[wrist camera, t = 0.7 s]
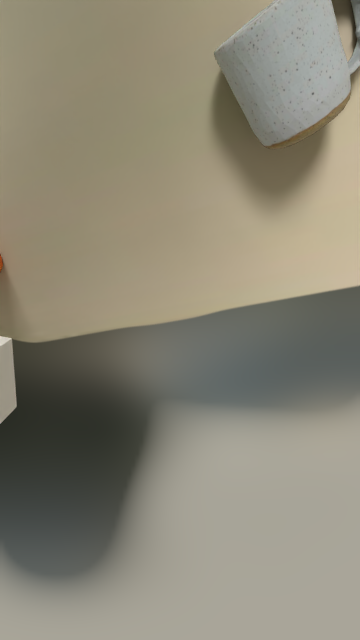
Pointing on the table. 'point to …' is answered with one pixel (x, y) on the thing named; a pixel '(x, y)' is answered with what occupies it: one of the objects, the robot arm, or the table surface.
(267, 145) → the ceramic mug
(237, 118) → the table surface
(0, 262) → the paper cup
